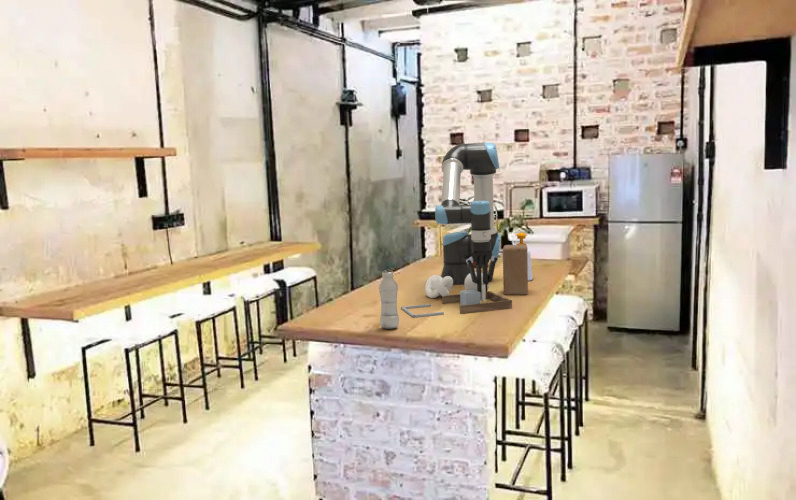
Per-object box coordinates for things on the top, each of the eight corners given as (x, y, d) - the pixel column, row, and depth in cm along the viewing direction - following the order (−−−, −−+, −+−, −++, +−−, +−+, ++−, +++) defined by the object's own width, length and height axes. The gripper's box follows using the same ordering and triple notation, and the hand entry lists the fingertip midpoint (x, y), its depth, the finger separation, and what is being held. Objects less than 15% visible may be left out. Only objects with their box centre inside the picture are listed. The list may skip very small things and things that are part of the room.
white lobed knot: (456, 299, 269) (455, 278, 268) (427, 301, 269) (426, 279, 267) (452, 294, 280) (451, 273, 279) (424, 295, 280) (423, 275, 278)
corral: (401, 308, 256) (400, 306, 256) (429, 305, 260) (429, 303, 260) (413, 317, 241) (413, 315, 241) (443, 314, 244) (443, 312, 244)
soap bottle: (531, 275, 315) (531, 230, 312) (532, 281, 301) (532, 233, 298) (511, 276, 316) (510, 230, 313) (511, 281, 303) (510, 233, 300)
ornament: (491, 293, 278) (490, 265, 276) (486, 298, 268) (485, 270, 267) (467, 293, 281) (467, 265, 280) (462, 298, 272) (461, 269, 270)
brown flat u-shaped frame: (442, 303, 263) (442, 296, 263) (490, 298, 269) (490, 291, 268) (460, 313, 244) (460, 306, 244) (512, 308, 250) (511, 300, 249)
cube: (460, 305, 258) (460, 290, 257) (474, 304, 260) (474, 289, 259) (466, 308, 252) (465, 293, 251) (480, 307, 254) (480, 292, 253)
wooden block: (527, 295, 272) (527, 247, 269) (503, 295, 274) (502, 248, 271) (528, 290, 281) (527, 244, 279) (504, 290, 283) (503, 244, 281)
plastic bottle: (379, 326, 230) (377, 270, 228) (398, 325, 231) (396, 269, 228) (380, 331, 224) (378, 273, 221) (400, 330, 225) (398, 272, 222)
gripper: (469, 243, 248) (471, 303, 252) (500, 240, 252) (501, 300, 255) (461, 240, 256) (463, 300, 259) (492, 238, 259) (493, 296, 262)
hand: (482, 300), depth 257 cm, fingers closed
